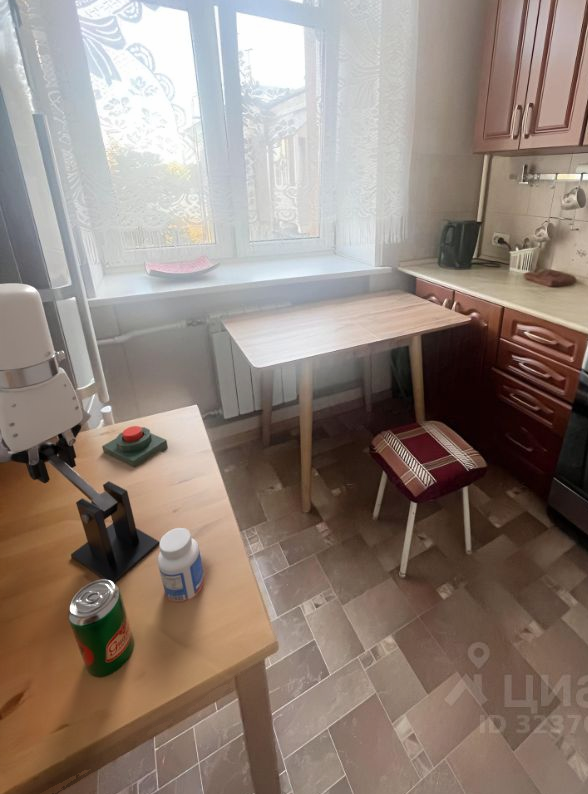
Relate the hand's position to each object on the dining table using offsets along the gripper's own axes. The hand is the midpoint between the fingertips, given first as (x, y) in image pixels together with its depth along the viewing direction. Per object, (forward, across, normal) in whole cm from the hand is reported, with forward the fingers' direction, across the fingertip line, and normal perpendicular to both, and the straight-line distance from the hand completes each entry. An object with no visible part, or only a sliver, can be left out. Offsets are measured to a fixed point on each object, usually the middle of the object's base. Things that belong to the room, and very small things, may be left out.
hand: (55, 470), depth 63 cm
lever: (+1, 0, +5) cm, 5 cm away
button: (+8, -18, -8) cm, 21 cm away
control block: (+12, -18, -8) cm, 23 cm away
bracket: (+12, 0, +12) cm, 17 cm away
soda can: (+12, +10, +26) cm, 30 cm away
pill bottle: (+11, -1, +26) cm, 29 cm away
